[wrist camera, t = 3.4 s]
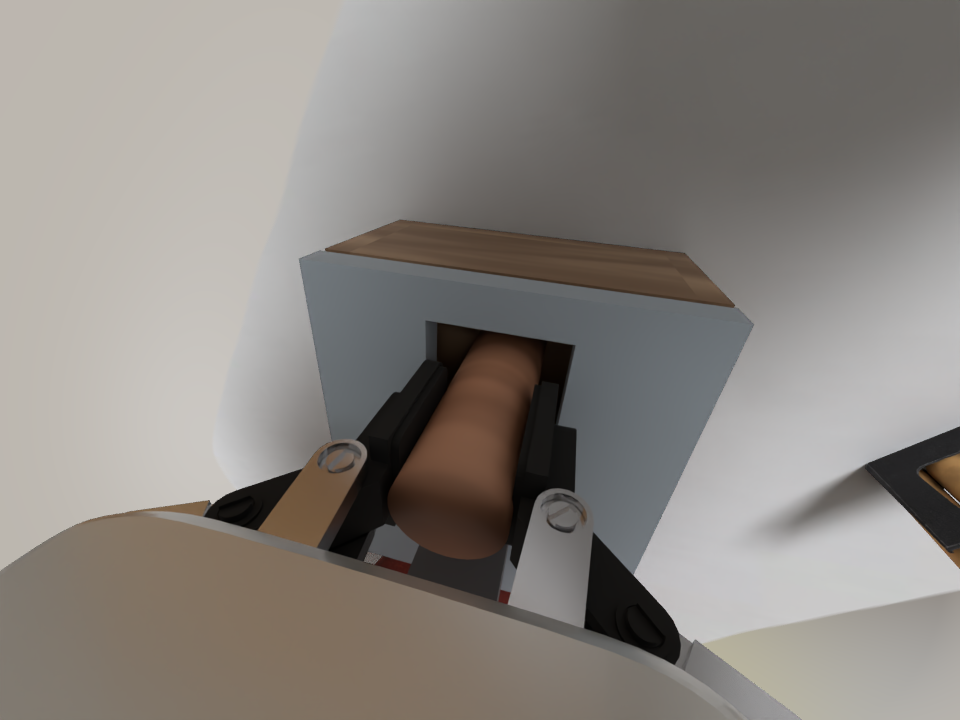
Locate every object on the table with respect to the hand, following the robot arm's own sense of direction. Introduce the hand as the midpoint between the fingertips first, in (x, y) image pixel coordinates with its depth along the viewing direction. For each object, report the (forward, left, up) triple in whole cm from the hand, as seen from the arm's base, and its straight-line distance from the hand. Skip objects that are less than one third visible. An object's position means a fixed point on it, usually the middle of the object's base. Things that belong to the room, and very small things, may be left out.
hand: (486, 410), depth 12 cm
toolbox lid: (+4, 0, -2) cm, 5 cm away
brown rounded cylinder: (0, 0, -8) cm, 8 cm away
